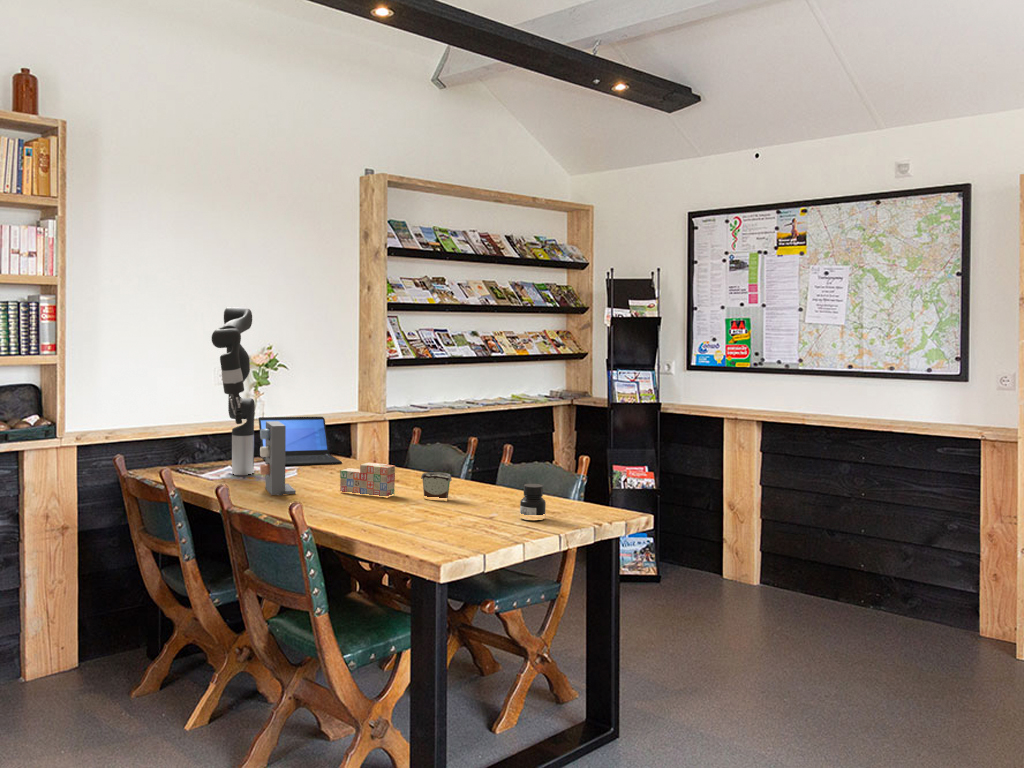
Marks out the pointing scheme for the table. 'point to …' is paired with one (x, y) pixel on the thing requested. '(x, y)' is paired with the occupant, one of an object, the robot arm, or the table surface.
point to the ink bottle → (533, 500)
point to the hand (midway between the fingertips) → (239, 423)
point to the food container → (436, 484)
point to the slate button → (265, 433)
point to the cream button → (265, 451)
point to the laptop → (303, 440)
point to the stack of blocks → (369, 479)
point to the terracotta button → (265, 469)
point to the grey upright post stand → (277, 460)
